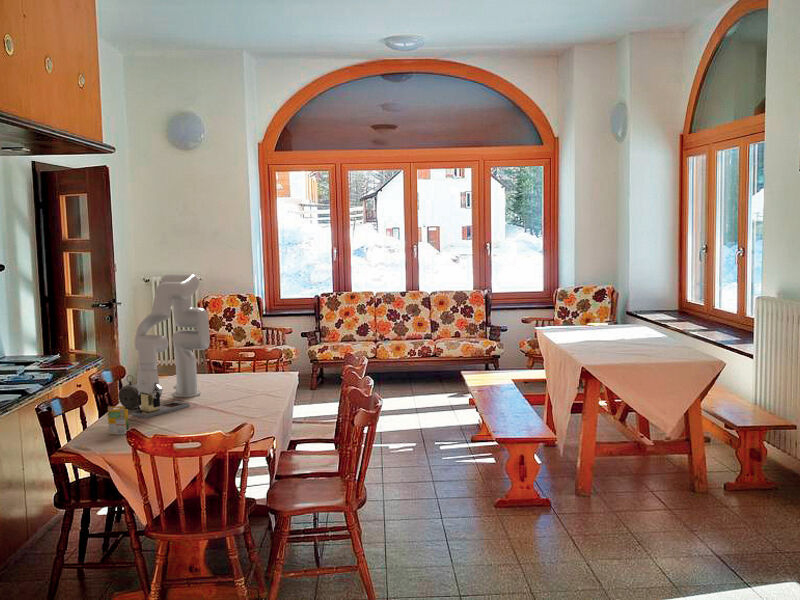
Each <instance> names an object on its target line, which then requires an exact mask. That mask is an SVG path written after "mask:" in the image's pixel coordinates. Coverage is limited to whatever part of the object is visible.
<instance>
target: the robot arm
mask: <svg viewBox="0 0 800 600" xmlns="http://www.w3.org/2000/svg"><path fill="white" fill-rule="evenodd" d="M160 282H161V283H158V285H157V287H156V290H155V294H154V299H153V302H152V307H151V312H150V313H149V314H148V315H146V317H145V318H144V319H143V320H142V321H141V322H140V323H139V324H138V327H137V330H136V332H135V339H134V348H135V350H136V351H137V355H138V356H137V357H138V360H137V361H138V370H137V376H136V383H135V384H136V385H135V386H136V389H137V392H138V395H139V404H140V406H141V394H143V393H146V394H151V393H152V395H153V397H154V398H153V407H159V406H160V405H161V396H162V394H163V393H162V392H163V388H162V386H160V380H159V379H160V378H159V373H158V363H157V354H158V353H164V352H165V351H167V349H168V348H169V344H170V343H169V340H168V337H166V336H165V335H161V334H160V335H159V334H158V335H156V334H147V333H148V332H149V330H150V329H151V328H153V327H154V326H156V325H158V324H161V323H162V322H164V321H167V320H168V319H170V318H171V316H172V313H173V321H174V324H175V326H176V327H179V328H189V329H179V330H176V331H175V332H174V333H173V334H172V344H173V348H174V358H175V377H176V384H175V385H174V386H172V389H174V390H175V392H173V396H174V397H175V398H192V397H197V396H200V395H201V393H202V391H201V390H198V378H197V377H198V375H197V373H198V372H197V357H196V355H195V353H194V352H193V350H194V351H198V350H199V351H203V350H207V349H208V348H209V347H210V343H211V341H210V340H211V339H210V338H211V336H210V323H209V315H208V312H207V310H206V309H205V308H203V307H193V306H192V299H191V297H192V296H193V295H194V294H195V293H196V292H197V290H198V289H199V284H200V283H199V278H198V276H196V275H195V274H192V273H184V274H183V273H170V274H165V275H163V276H162V277H161V279H160ZM190 328H193V329H190ZM194 328H196V329H194ZM155 393H156V395H155Z"/></svg>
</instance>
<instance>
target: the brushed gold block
mask: <svg viewBox="0 0 800 600" xmlns="http://www.w3.org/2000/svg"><path fill="white" fill-rule="evenodd" d="M155 395H156V393H155ZM153 398H154V397H153V395H152V393H151V394H146V393H143V394H141V405H140V408H141V410H142V412H145V413H151V412H155V411H158V407H153Z"/></svg>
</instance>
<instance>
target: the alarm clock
mask: <svg viewBox="0 0 800 600" xmlns="http://www.w3.org/2000/svg"><path fill="white" fill-rule="evenodd" d="M128 377H131V378H132V380H130V381H129V380H128V379H126V381H127V382H128V384H125V385H124V386H122V387H121V388H120V390H119V392H118V400H119V402H120V404H121V406H125V409H128V411H129V410H134V409H136V408H138V410H141V405H140V404H139V395H138V392H137V389H136V386H135V385H136V384H137V383H132V382H133V381H134V377H133V375H131V374H129V375H127V376H126V378H128Z"/></svg>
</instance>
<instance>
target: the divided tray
mask: <svg viewBox="0 0 800 600" xmlns="http://www.w3.org/2000/svg"><path fill="white" fill-rule="evenodd" d="M190 407H191V405H190V403H189V402H185V401H179V400H175V401H171V402H167V403H164V404H163V403H162V404H160V406H159V407H158V411H155V412H151V413H145V412H142V409H138V410H133V411H132V412H131V416H133V417H137V418H143V419H149V418H152V417H156V416H159V415H163V414H168V413H170V412H171V413H172V412H176V411H178V410H179V411H180V410H183V409H188V408H190Z"/></svg>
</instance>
